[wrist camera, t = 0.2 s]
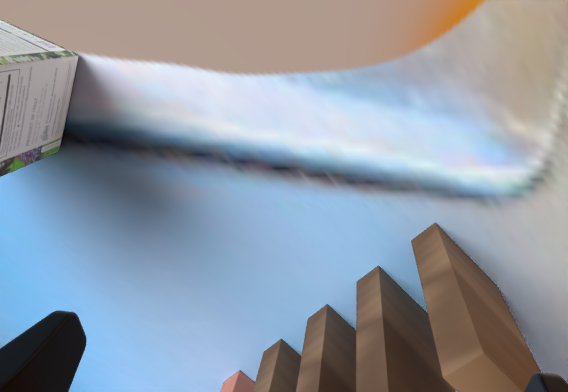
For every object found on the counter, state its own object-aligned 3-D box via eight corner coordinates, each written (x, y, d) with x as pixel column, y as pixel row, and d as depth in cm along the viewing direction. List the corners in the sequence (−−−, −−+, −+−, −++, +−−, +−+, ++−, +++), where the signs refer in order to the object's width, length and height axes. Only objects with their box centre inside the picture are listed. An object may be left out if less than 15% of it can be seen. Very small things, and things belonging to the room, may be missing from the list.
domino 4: (415, 338, 27) (446, 509, 17) (356, 281, 26) (355, 430, 17) (438, 323, 26) (481, 493, 17) (378, 265, 25) (389, 410, 16)
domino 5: (471, 301, 25) (537, 466, 16) (411, 240, 24) (443, 377, 15) (496, 285, 25) (579, 447, 15) (435, 222, 24) (483, 353, 15)
